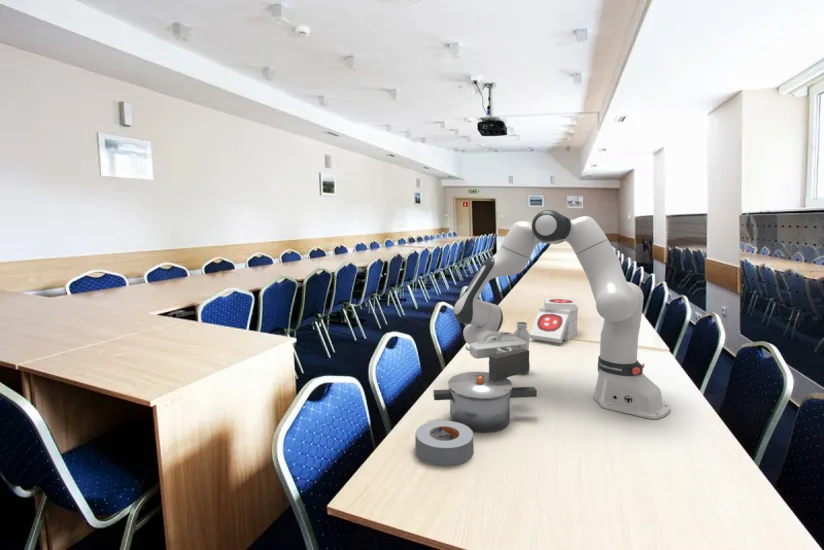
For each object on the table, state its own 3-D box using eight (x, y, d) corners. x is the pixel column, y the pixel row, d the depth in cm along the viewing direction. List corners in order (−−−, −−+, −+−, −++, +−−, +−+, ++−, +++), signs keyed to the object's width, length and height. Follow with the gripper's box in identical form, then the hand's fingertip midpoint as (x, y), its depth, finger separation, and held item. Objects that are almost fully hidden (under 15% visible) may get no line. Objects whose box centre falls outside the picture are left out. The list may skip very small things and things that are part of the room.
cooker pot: (437, 434, 123) (436, 401, 122) (431, 407, 141) (431, 377, 140) (544, 430, 125) (545, 397, 123) (525, 404, 142) (526, 374, 141)
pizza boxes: (525, 341, 214) (526, 305, 212) (546, 328, 238) (547, 296, 236) (565, 347, 203) (566, 310, 201) (582, 333, 227) (584, 299, 225)
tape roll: (438, 431, 126) (437, 414, 125) (484, 448, 116) (484, 430, 116) (403, 453, 114) (403, 435, 113) (452, 474, 104) (452, 454, 104)
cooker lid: (476, 405, 118) (476, 376, 117) (436, 383, 134) (435, 358, 133) (548, 382, 134) (549, 356, 133) (504, 365, 150) (504, 342, 149)
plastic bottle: (526, 376, 167) (527, 325, 164) (509, 373, 171) (510, 323, 169) (532, 371, 172) (533, 322, 170) (516, 368, 176) (517, 320, 174)
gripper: (463, 337, 151) (481, 348, 138) (515, 332, 157) (537, 342, 144) (463, 355, 152) (480, 368, 139) (514, 349, 158) (536, 360, 145)
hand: (510, 355), depth 141 cm, fingers closed
